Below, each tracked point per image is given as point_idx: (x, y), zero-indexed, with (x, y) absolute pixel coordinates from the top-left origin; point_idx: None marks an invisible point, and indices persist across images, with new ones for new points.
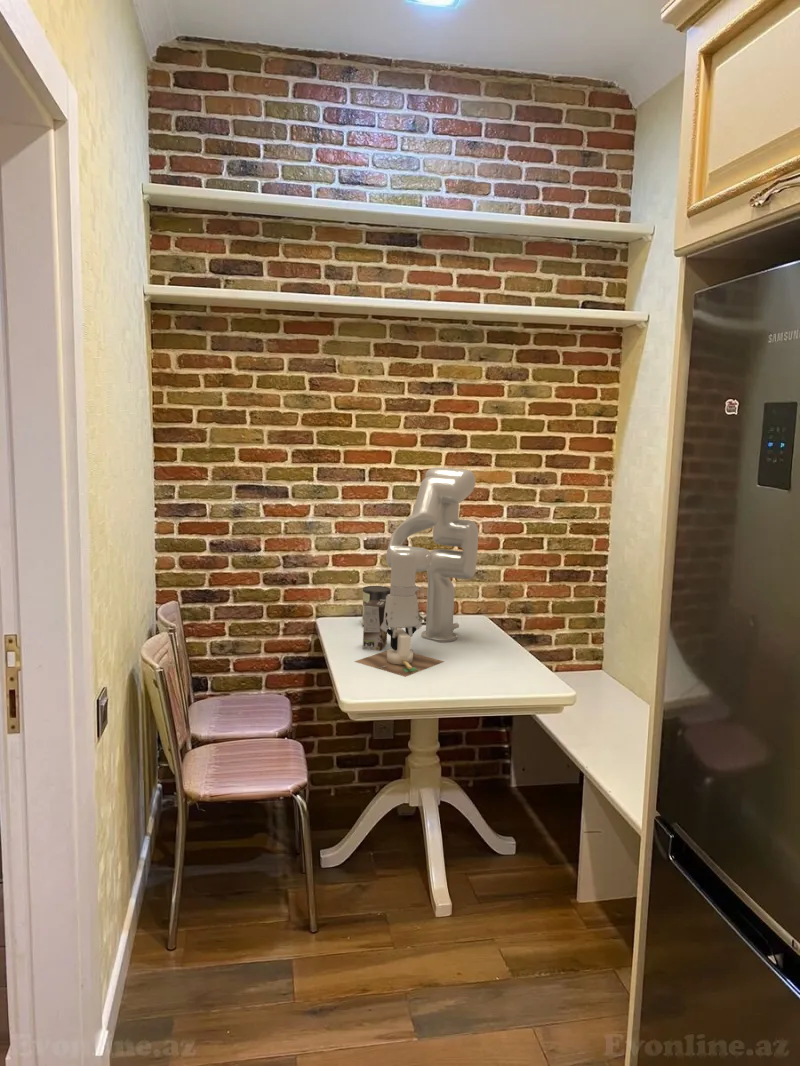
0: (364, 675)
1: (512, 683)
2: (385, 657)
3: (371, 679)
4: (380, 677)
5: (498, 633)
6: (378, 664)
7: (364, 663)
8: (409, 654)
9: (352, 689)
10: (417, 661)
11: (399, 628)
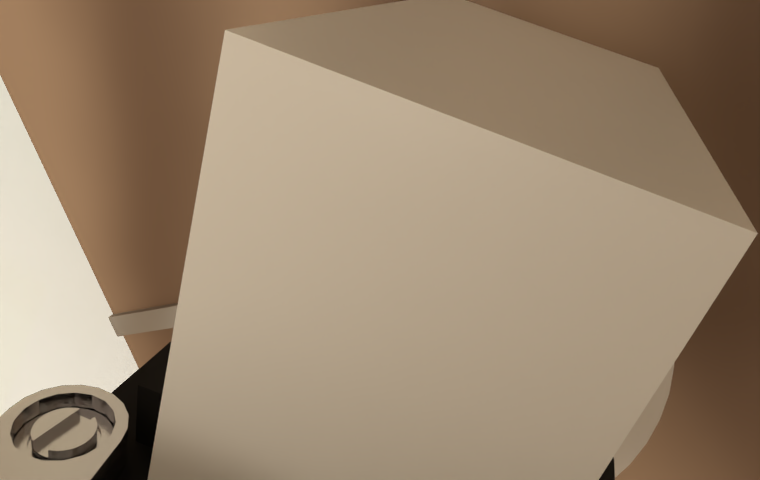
0: (23, 258)
1: None
2: (379, 3)
3: (49, 365)
4: (129, 375)
5: None
6: (162, 211)
7: (32, 90)
8: None
9: None
10: (682, 403)
11: (533, 354)
